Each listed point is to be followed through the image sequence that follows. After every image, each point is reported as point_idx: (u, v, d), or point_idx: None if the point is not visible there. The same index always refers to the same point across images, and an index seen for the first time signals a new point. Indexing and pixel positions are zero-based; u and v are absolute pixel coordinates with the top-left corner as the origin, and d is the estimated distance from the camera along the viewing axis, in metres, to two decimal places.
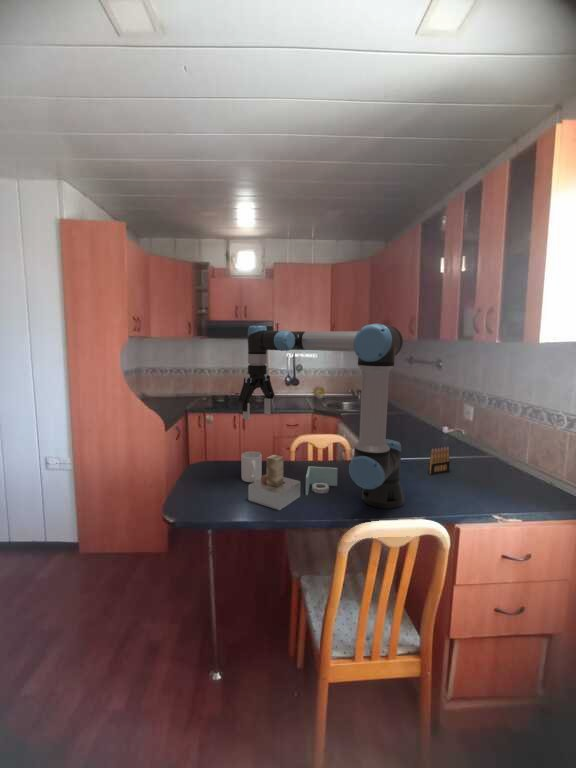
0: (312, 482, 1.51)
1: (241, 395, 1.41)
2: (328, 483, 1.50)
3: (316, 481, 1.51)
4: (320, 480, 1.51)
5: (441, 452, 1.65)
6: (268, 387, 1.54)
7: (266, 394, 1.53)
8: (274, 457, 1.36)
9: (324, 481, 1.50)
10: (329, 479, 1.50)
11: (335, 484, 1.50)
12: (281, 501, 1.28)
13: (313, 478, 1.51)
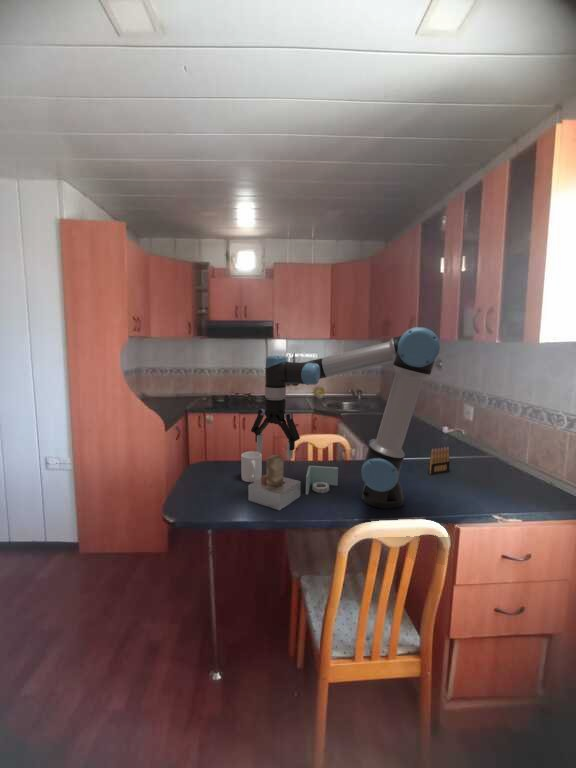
0: (313, 481, 1.52)
1: None
2: (328, 482, 1.51)
3: (317, 480, 1.51)
4: (320, 479, 1.51)
5: (441, 452, 1.65)
6: None
7: None
8: (274, 457, 1.36)
9: (324, 480, 1.51)
10: (329, 478, 1.50)
11: (335, 483, 1.50)
12: (281, 501, 1.28)
13: (314, 477, 1.51)
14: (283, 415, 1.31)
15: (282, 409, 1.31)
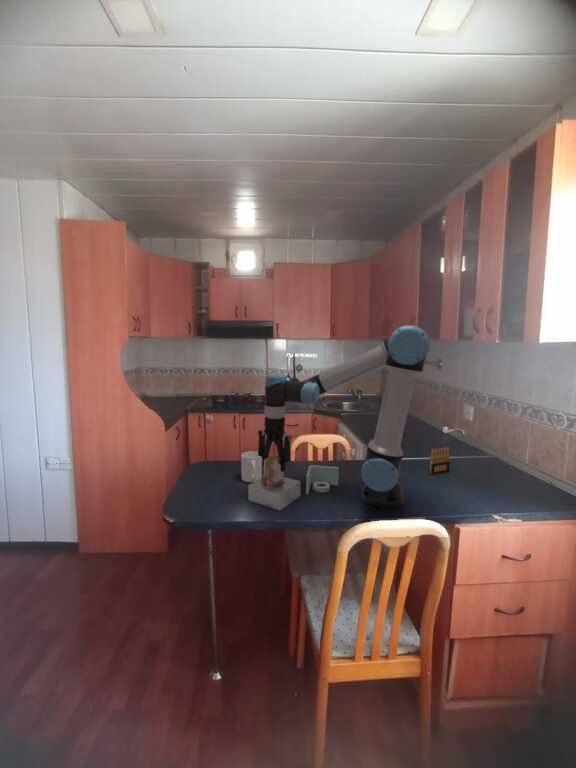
0: (313, 481, 1.52)
1: None
2: (329, 482, 1.51)
3: (317, 480, 1.52)
4: (321, 479, 1.52)
5: (441, 452, 1.65)
6: None
7: None
8: (274, 457, 1.36)
9: (325, 480, 1.51)
10: (330, 478, 1.51)
11: (336, 483, 1.51)
12: (281, 501, 1.28)
13: (314, 477, 1.52)
14: (282, 433, 1.32)
15: (281, 427, 1.32)
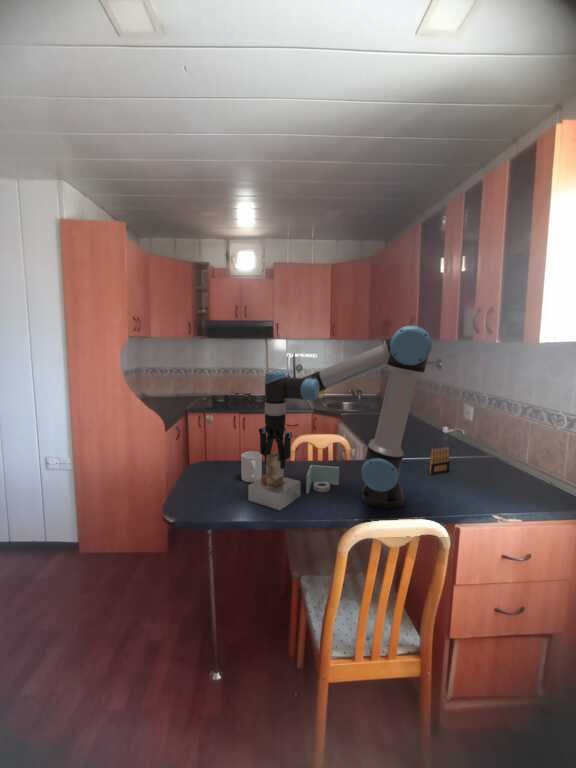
0: (314, 481, 1.53)
1: None
2: (330, 482, 1.52)
3: (318, 480, 1.52)
4: (322, 479, 1.52)
5: (441, 452, 1.65)
6: None
7: None
8: (274, 454, 1.36)
9: (326, 480, 1.52)
10: (331, 478, 1.51)
11: (336, 483, 1.51)
12: (281, 501, 1.28)
13: (315, 477, 1.52)
14: (283, 430, 1.31)
15: (282, 424, 1.31)
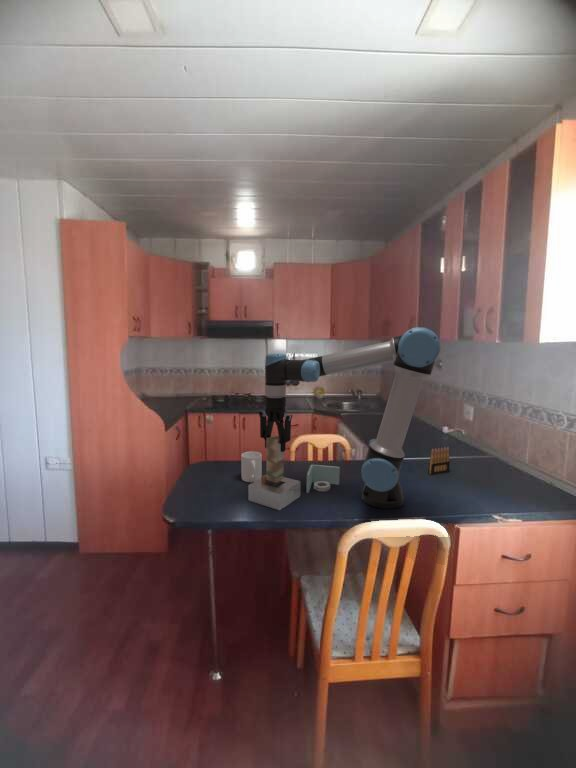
0: (314, 480, 1.53)
1: None
2: (330, 482, 1.52)
3: (318, 479, 1.53)
4: (322, 478, 1.52)
5: (441, 452, 1.65)
6: None
7: None
8: (275, 437, 1.35)
9: (326, 479, 1.52)
10: (331, 478, 1.52)
11: (336, 482, 1.51)
12: (281, 501, 1.28)
13: (315, 476, 1.53)
14: (283, 413, 1.30)
15: (282, 407, 1.31)
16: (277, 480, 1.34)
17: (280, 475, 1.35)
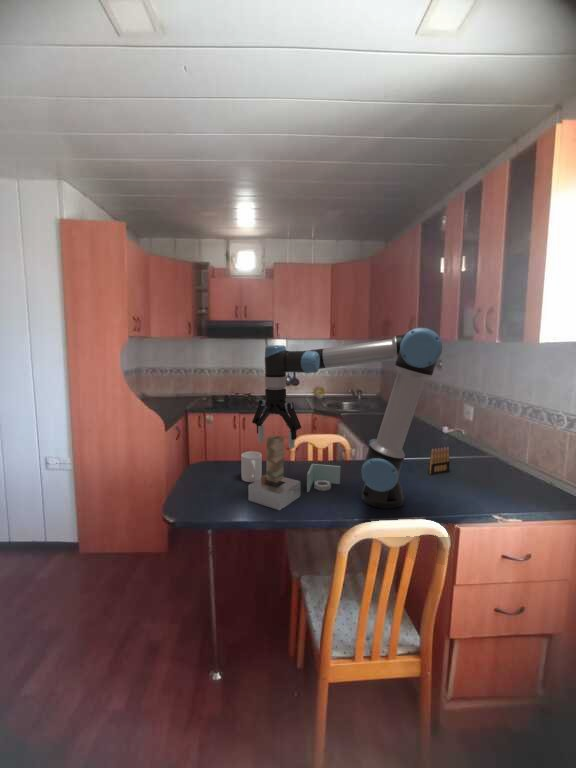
0: (315, 479, 1.54)
1: None
2: (331, 481, 1.53)
3: (319, 478, 1.54)
4: (323, 478, 1.53)
5: (441, 452, 1.65)
6: None
7: None
8: (275, 437, 1.35)
9: (327, 479, 1.53)
10: (332, 477, 1.52)
11: (337, 482, 1.52)
12: (281, 501, 1.28)
13: (316, 475, 1.54)
14: (284, 404, 1.30)
15: (283, 398, 1.30)
16: (277, 480, 1.34)
17: (280, 475, 1.35)
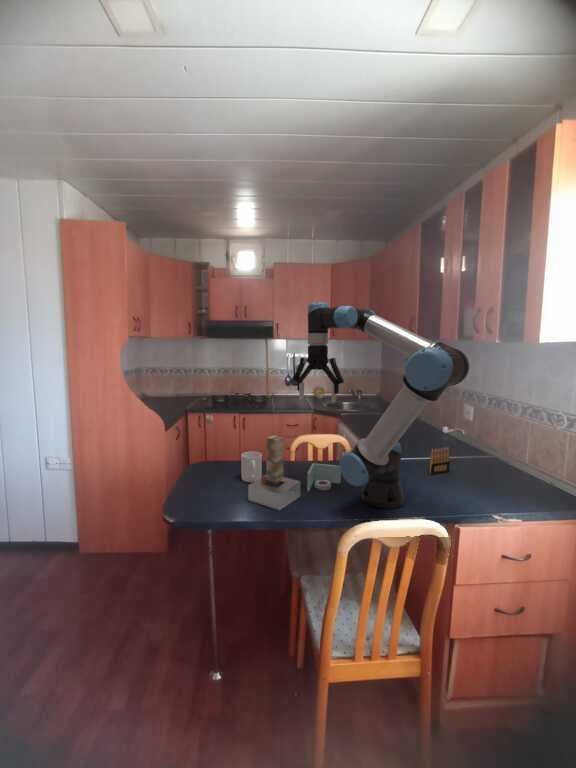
0: (316, 479, 1.55)
1: None
2: (331, 480, 1.53)
3: (320, 478, 1.54)
4: (324, 477, 1.54)
5: (441, 452, 1.65)
6: None
7: None
8: (275, 437, 1.35)
9: (327, 478, 1.53)
10: (332, 476, 1.53)
11: (338, 481, 1.53)
12: (281, 501, 1.28)
13: (317, 475, 1.54)
14: (327, 360, 1.35)
15: (325, 354, 1.35)
16: (277, 480, 1.34)
17: (280, 475, 1.35)
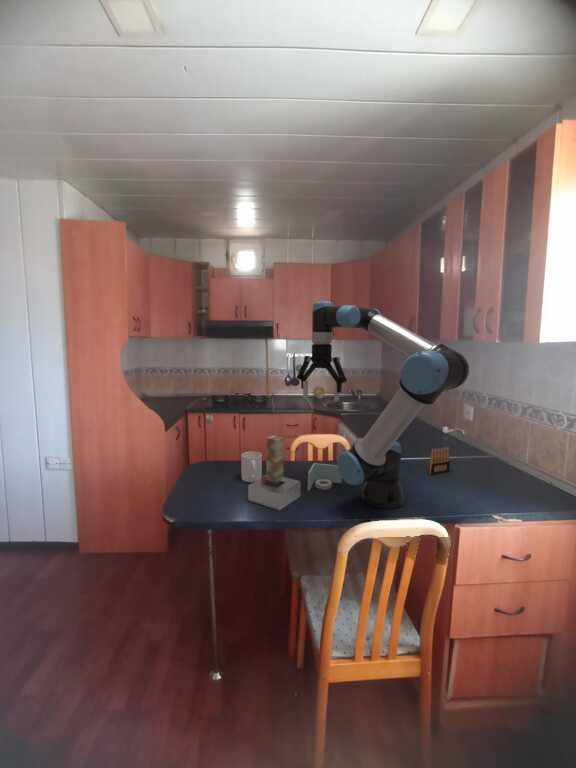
0: (317, 478, 1.55)
1: None
2: (332, 480, 1.54)
3: (321, 478, 1.55)
4: (324, 477, 1.54)
5: (441, 452, 1.65)
6: None
7: None
8: (275, 437, 1.35)
9: (328, 478, 1.54)
10: (333, 476, 1.53)
11: (339, 481, 1.53)
12: (281, 501, 1.28)
13: (318, 475, 1.55)
14: (330, 359, 1.36)
15: (329, 353, 1.36)
16: (277, 480, 1.34)
17: (280, 475, 1.35)
